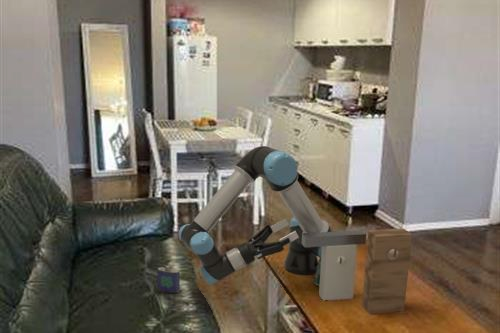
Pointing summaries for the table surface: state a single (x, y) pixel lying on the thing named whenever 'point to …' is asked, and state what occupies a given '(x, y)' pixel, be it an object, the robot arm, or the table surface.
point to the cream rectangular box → (337, 272)
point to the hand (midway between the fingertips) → (291, 227)
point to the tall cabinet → (386, 270)
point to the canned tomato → (318, 274)
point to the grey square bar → (333, 238)
